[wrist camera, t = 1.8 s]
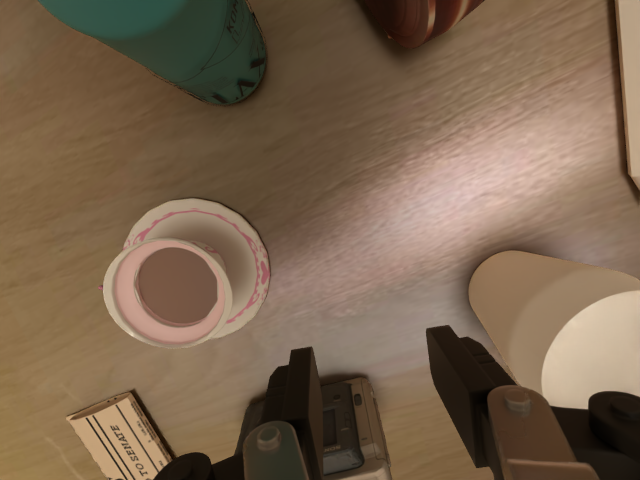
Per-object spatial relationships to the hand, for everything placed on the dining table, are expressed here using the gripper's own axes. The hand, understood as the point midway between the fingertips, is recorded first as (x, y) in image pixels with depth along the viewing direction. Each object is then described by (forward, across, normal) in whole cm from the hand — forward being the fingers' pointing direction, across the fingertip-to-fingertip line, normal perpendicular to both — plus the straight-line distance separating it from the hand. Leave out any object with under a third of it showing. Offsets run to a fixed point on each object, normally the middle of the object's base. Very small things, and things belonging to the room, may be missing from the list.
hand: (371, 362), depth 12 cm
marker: (+17, -23, -7) cm, 30 cm away
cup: (+17, -13, +6) cm, 23 cm away
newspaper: (+17, +21, +22) cm, 35 cm away
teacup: (+17, +12, 0) cm, 21 cm away
